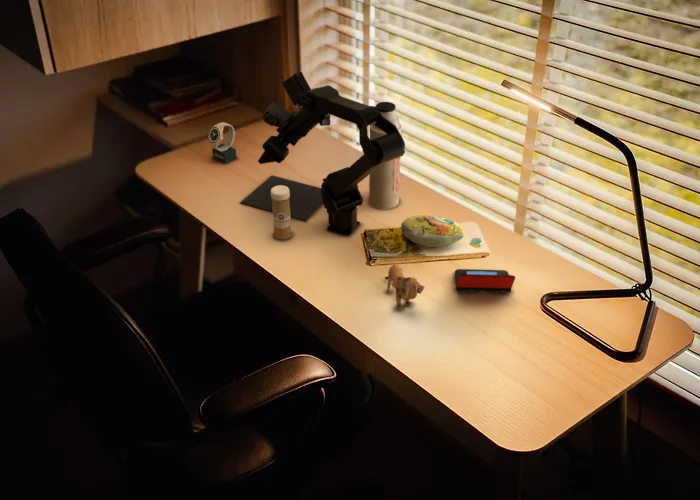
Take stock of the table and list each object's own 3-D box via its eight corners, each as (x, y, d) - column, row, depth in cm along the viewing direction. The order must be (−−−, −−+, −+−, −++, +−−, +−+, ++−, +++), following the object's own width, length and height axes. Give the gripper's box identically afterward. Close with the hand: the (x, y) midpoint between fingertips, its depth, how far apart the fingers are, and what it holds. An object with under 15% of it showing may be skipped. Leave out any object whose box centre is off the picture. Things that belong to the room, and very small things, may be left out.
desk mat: (334, 192, 216) (334, 191, 216) (305, 221, 204) (305, 220, 204) (271, 176, 223) (271, 175, 223) (240, 203, 212) (240, 202, 211)
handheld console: (507, 273, 185) (511, 247, 181) (512, 302, 177) (516, 276, 172) (453, 272, 186) (456, 246, 182) (456, 300, 177) (458, 274, 173)
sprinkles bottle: (276, 241, 197) (272, 195, 189) (272, 231, 200) (268, 186, 193) (294, 238, 198) (291, 192, 190) (289, 228, 201) (286, 183, 194)
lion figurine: (425, 313, 174) (427, 280, 169) (404, 319, 172) (405, 287, 167) (394, 276, 185) (395, 245, 179) (374, 282, 183) (374, 251, 178)
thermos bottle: (404, 199, 213) (408, 103, 196) (387, 212, 207) (390, 114, 191) (380, 190, 217) (382, 95, 200) (363, 202, 211) (363, 106, 195)
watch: (207, 160, 231) (203, 126, 225) (228, 150, 236) (225, 117, 230) (220, 166, 228) (216, 132, 222) (241, 156, 233) (238, 122, 227)
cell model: (405, 214, 202) (461, 203, 196) (413, 242, 204) (469, 232, 198) (393, 228, 193) (451, 217, 187) (402, 257, 195) (460, 247, 189)
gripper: (294, 82, 202) (257, 116, 211) (267, 112, 187) (228, 148, 196) (324, 113, 205) (286, 146, 214) (300, 146, 190) (260, 179, 199)
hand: (265, 154), depth 206 cm, fingers open, 9 cm apart
